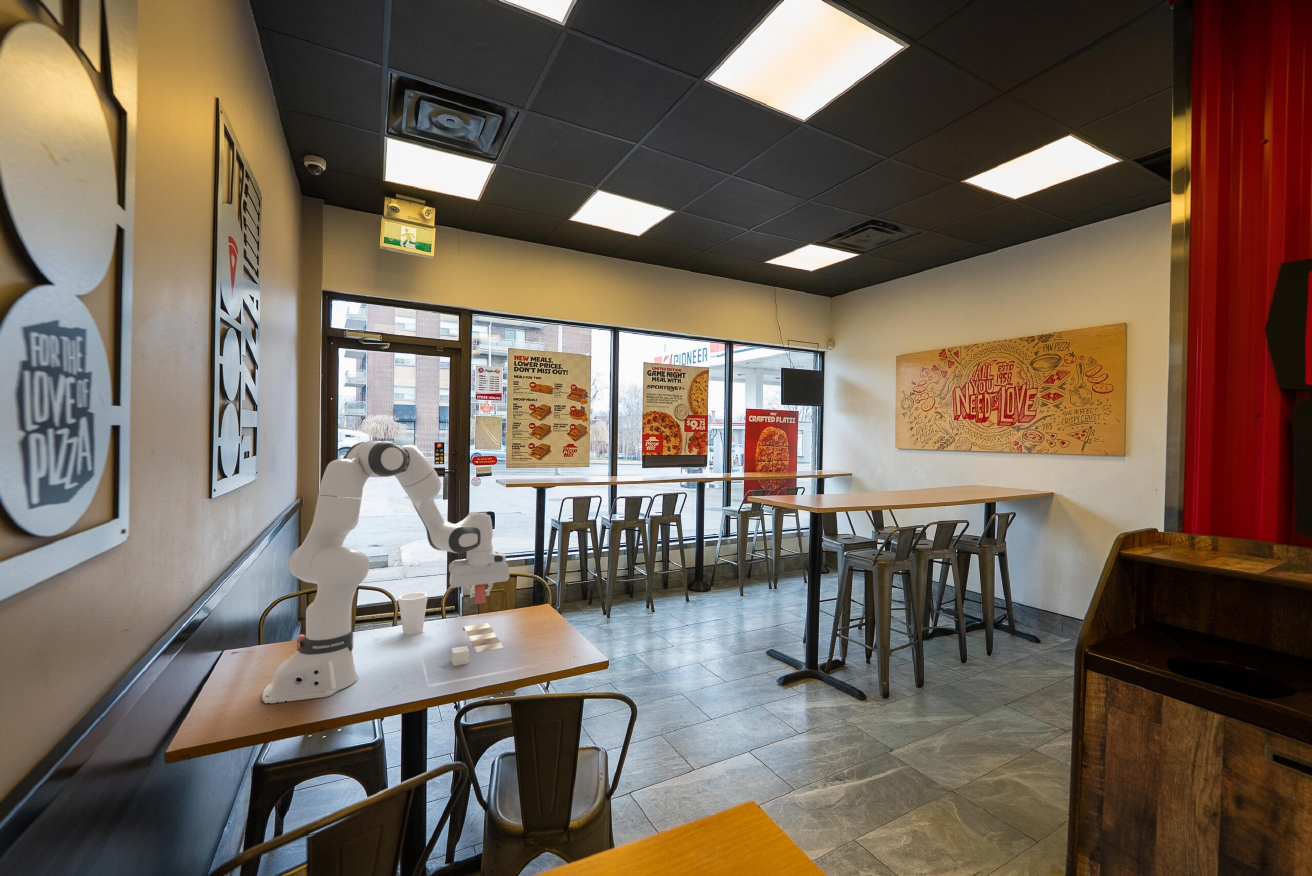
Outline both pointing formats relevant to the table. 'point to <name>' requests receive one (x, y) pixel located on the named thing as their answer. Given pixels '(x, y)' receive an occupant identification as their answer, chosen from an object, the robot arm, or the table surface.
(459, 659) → the white cube
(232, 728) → the table surface
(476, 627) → the board
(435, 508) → the robot arm
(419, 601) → the foam cup
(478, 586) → the red bottle
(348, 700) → the table surface
